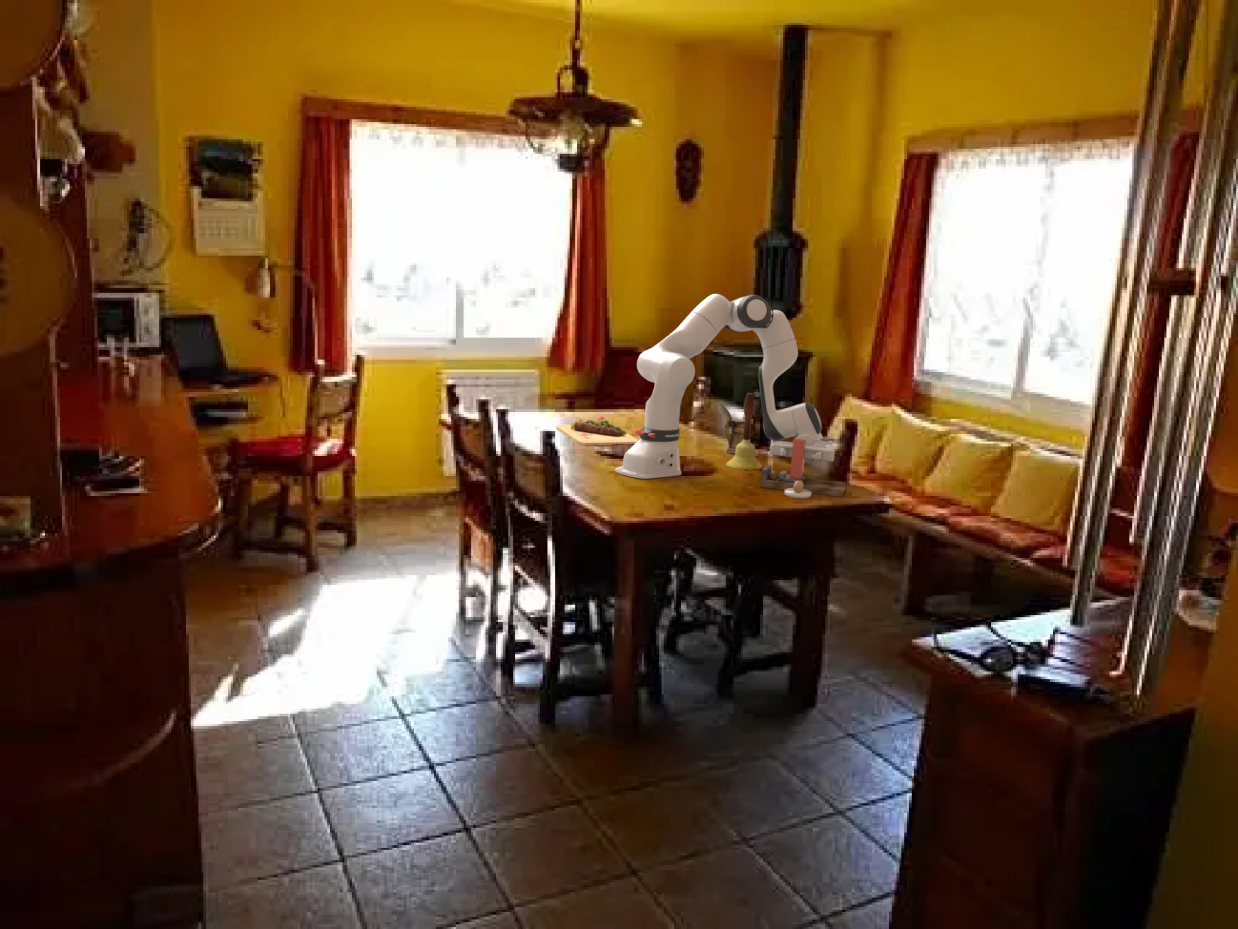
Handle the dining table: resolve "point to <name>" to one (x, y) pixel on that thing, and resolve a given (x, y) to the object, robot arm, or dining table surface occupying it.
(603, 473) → the dining table surface
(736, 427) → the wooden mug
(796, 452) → the jaw slider
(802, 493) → the nut dish
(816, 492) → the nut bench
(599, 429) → the cutting board
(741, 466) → the handbell
